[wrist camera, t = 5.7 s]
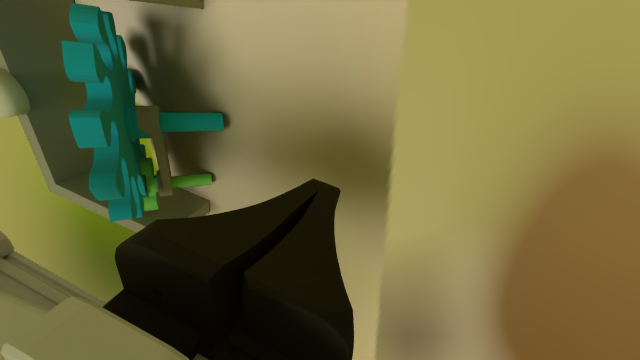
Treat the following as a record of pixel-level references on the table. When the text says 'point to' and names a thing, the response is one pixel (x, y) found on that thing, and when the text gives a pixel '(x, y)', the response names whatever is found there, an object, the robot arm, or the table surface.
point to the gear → (122, 120)
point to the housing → (62, 105)
